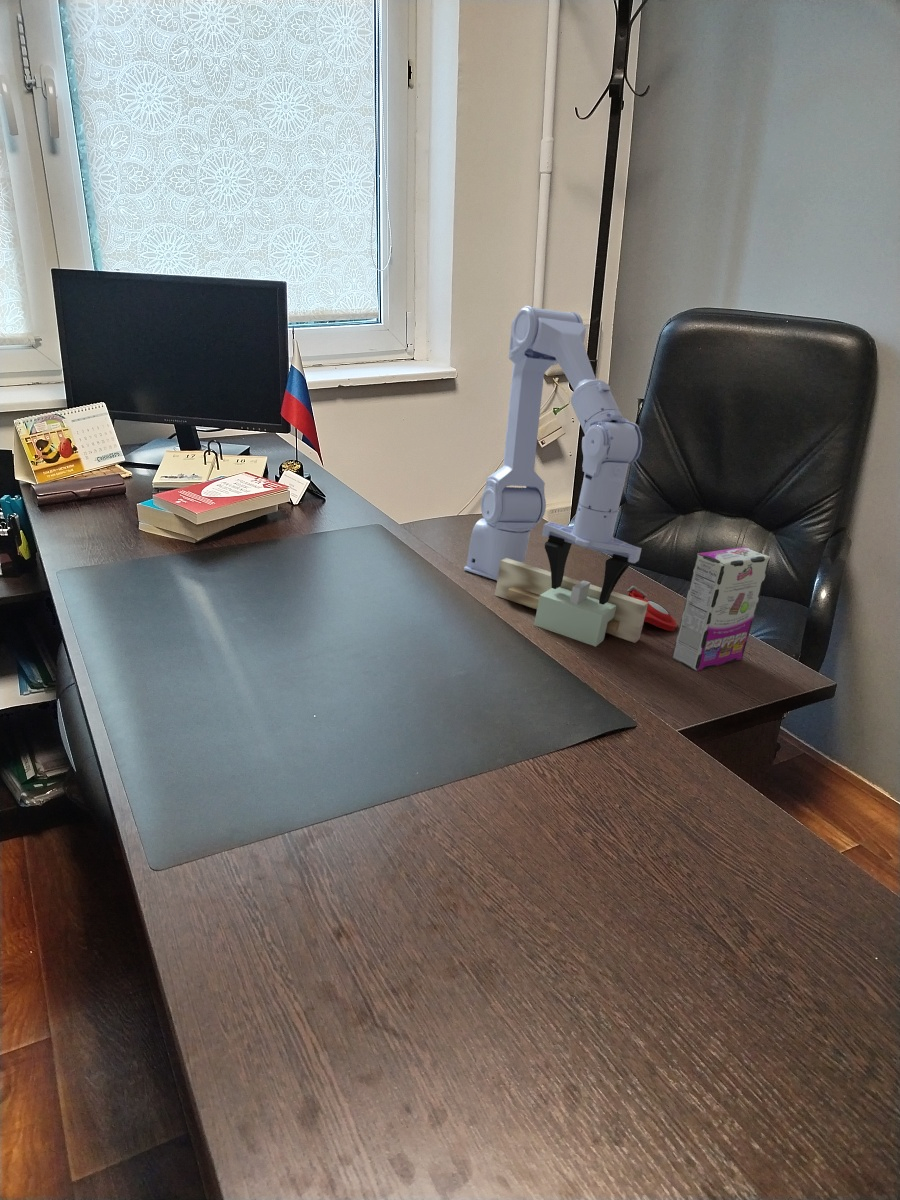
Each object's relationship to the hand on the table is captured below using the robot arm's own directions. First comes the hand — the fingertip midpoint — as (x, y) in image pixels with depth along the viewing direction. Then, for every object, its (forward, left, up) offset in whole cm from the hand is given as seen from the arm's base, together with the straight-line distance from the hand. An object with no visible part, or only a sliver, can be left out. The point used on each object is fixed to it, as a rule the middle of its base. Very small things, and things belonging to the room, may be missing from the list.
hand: (579, 594), depth 124 cm
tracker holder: (+7, +15, -6) cm, 18 cm away
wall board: (-3, +4, -6) cm, 8 cm away
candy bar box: (+19, +6, -6) cm, 21 cm away
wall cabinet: (0, 0, -6) cm, 6 cm away
